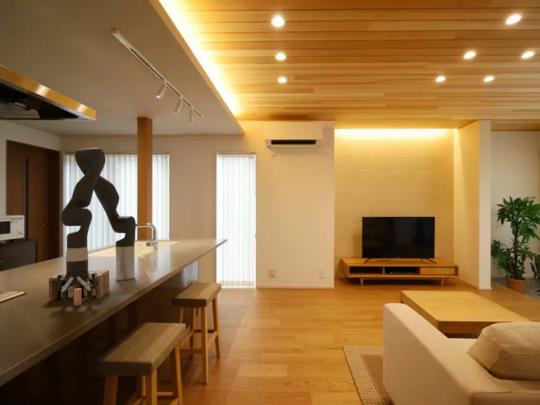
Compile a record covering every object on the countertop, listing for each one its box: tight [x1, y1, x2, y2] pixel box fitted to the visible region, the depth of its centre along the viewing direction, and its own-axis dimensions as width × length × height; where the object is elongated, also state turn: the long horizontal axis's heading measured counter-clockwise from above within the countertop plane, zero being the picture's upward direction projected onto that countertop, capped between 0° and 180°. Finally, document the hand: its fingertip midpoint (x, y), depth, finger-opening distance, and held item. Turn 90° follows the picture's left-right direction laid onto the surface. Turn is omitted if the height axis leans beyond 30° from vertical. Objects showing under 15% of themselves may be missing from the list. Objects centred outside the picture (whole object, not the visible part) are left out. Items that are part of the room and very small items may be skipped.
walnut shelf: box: [48, 269, 110, 302], centre depth 142 cm, size 12×20×9 cm, turn 99°
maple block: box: [60, 285, 73, 299], centre depth 142 cm, size 5×5×5 cm
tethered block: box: [73, 282, 97, 307], centre depth 136 cm, size 18×5×6 cm, turn 9°
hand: (77, 300), depth 128 cm, fingers open, 8 cm apart
